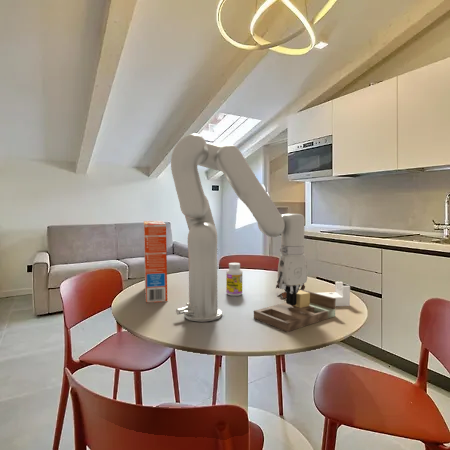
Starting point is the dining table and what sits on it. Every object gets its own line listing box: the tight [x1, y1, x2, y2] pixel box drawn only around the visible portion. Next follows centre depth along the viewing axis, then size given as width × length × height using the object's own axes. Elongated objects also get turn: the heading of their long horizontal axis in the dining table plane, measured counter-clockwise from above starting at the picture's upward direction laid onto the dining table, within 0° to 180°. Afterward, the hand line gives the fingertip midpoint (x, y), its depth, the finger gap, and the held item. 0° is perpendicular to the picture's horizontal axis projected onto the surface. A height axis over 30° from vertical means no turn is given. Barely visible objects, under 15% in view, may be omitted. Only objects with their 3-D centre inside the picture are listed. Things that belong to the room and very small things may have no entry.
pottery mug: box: [275, 280, 306, 299], centre depth 141 cm, size 12×10×8 cm
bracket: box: [316, 281, 351, 307], centre depth 130 cm, size 13×7×8 cm, turn 95°
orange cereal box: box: [143, 220, 168, 303], centre depth 143 cm, size 23×8×30 cm, turn 14°
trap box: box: [253, 288, 336, 333], centre depth 115 cm, size 23×15×6 cm, turn 126°
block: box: [293, 289, 310, 308], centre depth 119 cm, size 4×4×4 cm
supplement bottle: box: [225, 262, 243, 297], centre depth 143 cm, size 7×7×13 cm
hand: (291, 304), depth 117 cm, fingers closed
